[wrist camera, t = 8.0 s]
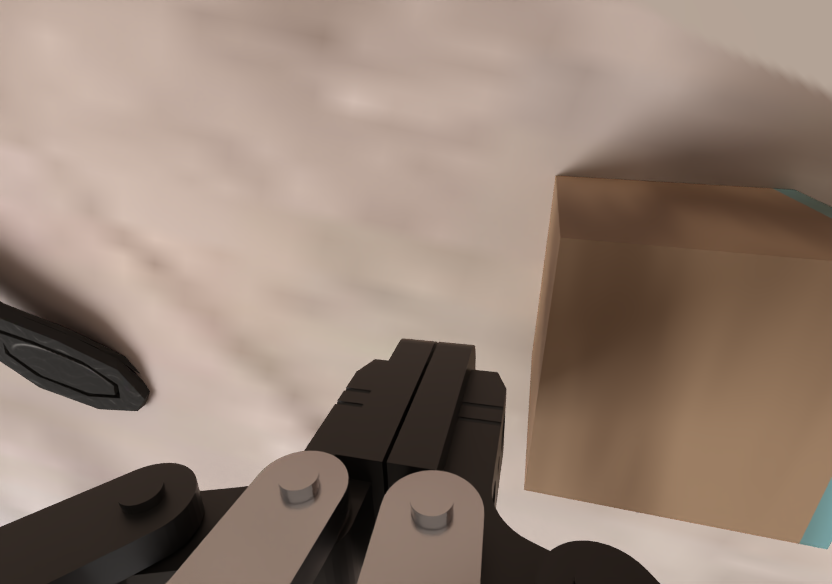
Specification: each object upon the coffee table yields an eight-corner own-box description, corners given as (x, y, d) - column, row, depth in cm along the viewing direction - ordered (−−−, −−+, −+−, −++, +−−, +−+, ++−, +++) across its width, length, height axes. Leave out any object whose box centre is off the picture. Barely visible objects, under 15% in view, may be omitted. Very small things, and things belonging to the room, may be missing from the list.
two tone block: (524, 489, 11) (827, 549, 10) (560, 237, 9) (972, 272, 7) (531, 355, 16) (729, 382, 15) (556, 175, 14) (793, 189, 13)
